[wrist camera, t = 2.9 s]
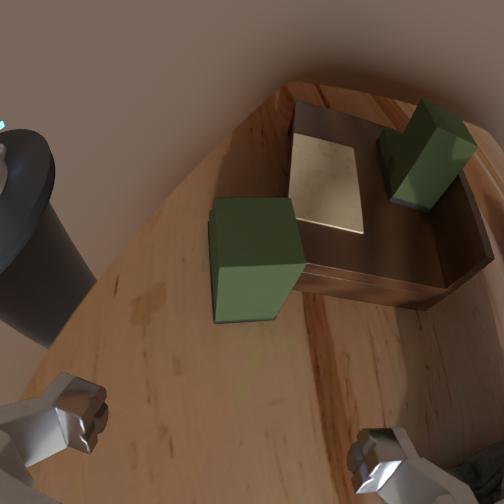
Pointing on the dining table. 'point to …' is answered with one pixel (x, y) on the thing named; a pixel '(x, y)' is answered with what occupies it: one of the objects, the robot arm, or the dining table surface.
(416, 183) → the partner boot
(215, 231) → the boot
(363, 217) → the shoe shelf
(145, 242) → the dining table surface
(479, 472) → the stuffed elephant
